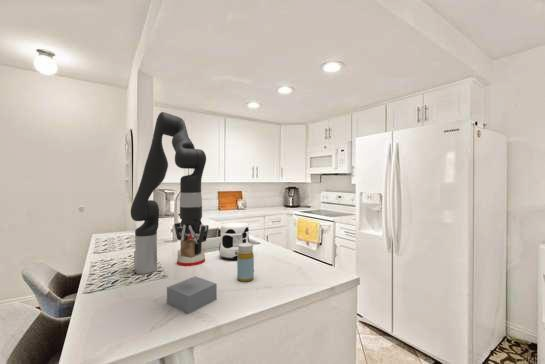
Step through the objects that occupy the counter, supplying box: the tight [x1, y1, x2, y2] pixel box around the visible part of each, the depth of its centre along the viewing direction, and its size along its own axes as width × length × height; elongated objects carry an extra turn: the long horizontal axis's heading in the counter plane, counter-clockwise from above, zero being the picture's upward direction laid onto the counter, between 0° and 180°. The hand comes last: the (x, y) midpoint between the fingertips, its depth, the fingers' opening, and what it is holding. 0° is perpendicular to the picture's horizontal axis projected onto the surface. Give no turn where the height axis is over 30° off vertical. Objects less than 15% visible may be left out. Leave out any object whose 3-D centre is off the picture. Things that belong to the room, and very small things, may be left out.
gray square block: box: [166, 276, 218, 315], centre depth 90 cm, size 12×12×6 cm
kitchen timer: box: [176, 234, 206, 267], centre depth 132 cm, size 14×14×15 cm
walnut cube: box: [180, 239, 203, 258], centre depth 89 cm, size 5×5×5 cm
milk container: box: [218, 221, 250, 260], centre depth 141 cm, size 17×17×18 cm
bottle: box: [236, 242, 255, 283], centre depth 109 cm, size 7×7×15 cm
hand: (191, 252), depth 89 cm, fingers closed on walnut cube, 5 cm apart
